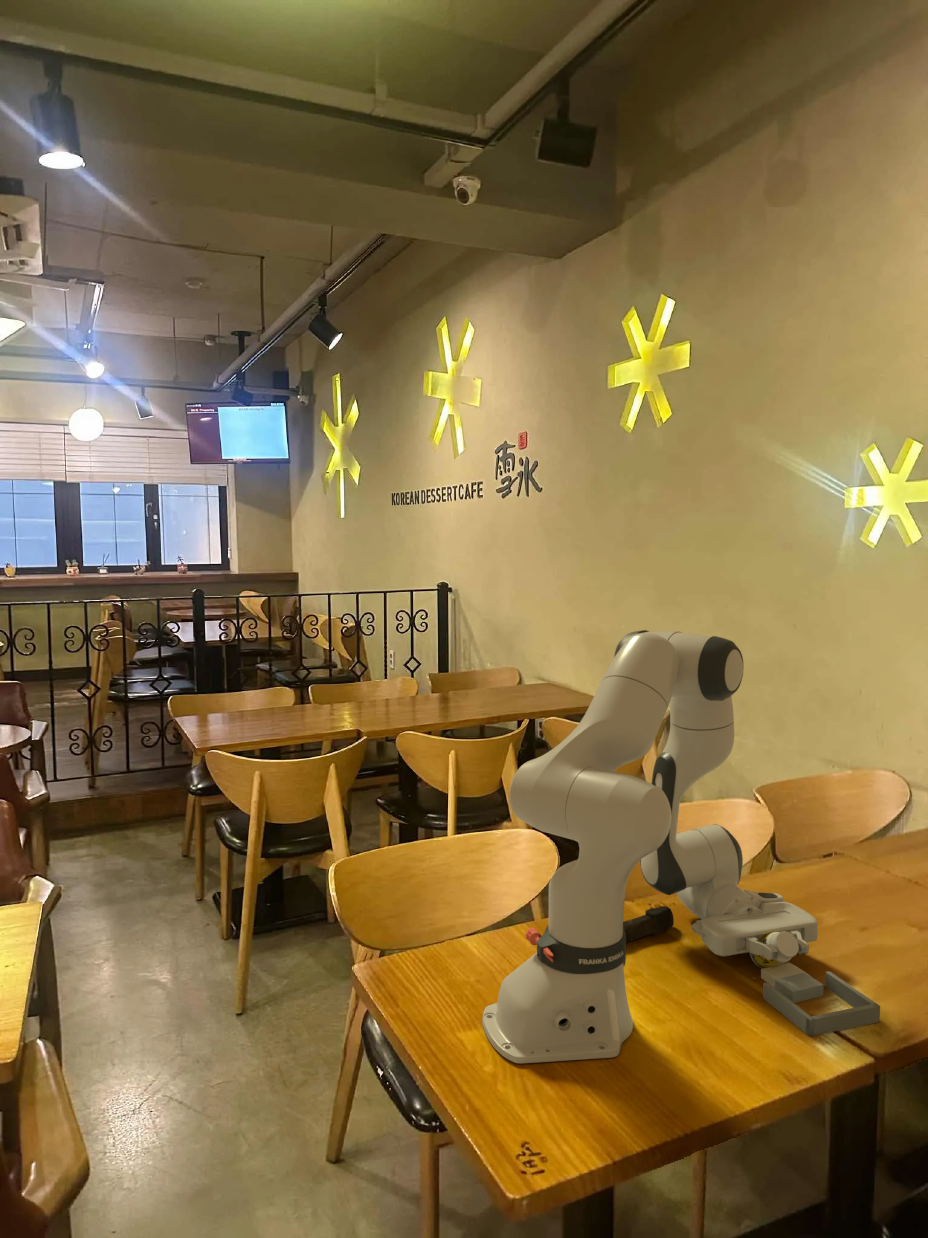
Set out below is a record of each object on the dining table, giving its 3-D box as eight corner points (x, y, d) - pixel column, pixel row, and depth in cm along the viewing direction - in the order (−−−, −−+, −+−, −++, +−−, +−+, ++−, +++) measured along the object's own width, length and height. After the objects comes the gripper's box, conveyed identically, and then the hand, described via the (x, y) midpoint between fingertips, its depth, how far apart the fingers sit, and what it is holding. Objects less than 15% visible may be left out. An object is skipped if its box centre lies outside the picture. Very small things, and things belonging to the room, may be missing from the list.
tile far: (777, 993, 133) (778, 980, 133) (760, 981, 137) (761, 969, 137) (807, 987, 135) (807, 974, 135) (789, 975, 139) (790, 962, 139)
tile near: (792, 1005, 129) (792, 992, 129) (774, 992, 133) (775, 979, 133) (823, 997, 132) (823, 984, 131) (804, 985, 135) (805, 972, 135)
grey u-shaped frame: (809, 1036, 121) (810, 1020, 120) (763, 998, 131) (763, 983, 131) (879, 1022, 124) (880, 1006, 124) (829, 986, 134) (829, 971, 134)
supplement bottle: (743, 944, 141) (768, 932, 135) (766, 937, 143) (792, 925, 136) (756, 973, 139) (782, 962, 132) (779, 965, 141) (806, 955, 134)
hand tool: (599, 957, 145) (599, 932, 144) (586, 947, 148) (586, 922, 148) (682, 934, 153) (683, 910, 153) (668, 925, 157) (669, 902, 156)
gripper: (686, 906, 144) (734, 942, 131) (786, 892, 150) (841, 925, 136) (686, 941, 144) (733, 981, 131) (784, 925, 150) (840, 962, 137)
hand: (789, 952), depth 134 cm, fingers closed on supplement bottle, 5 cm apart
